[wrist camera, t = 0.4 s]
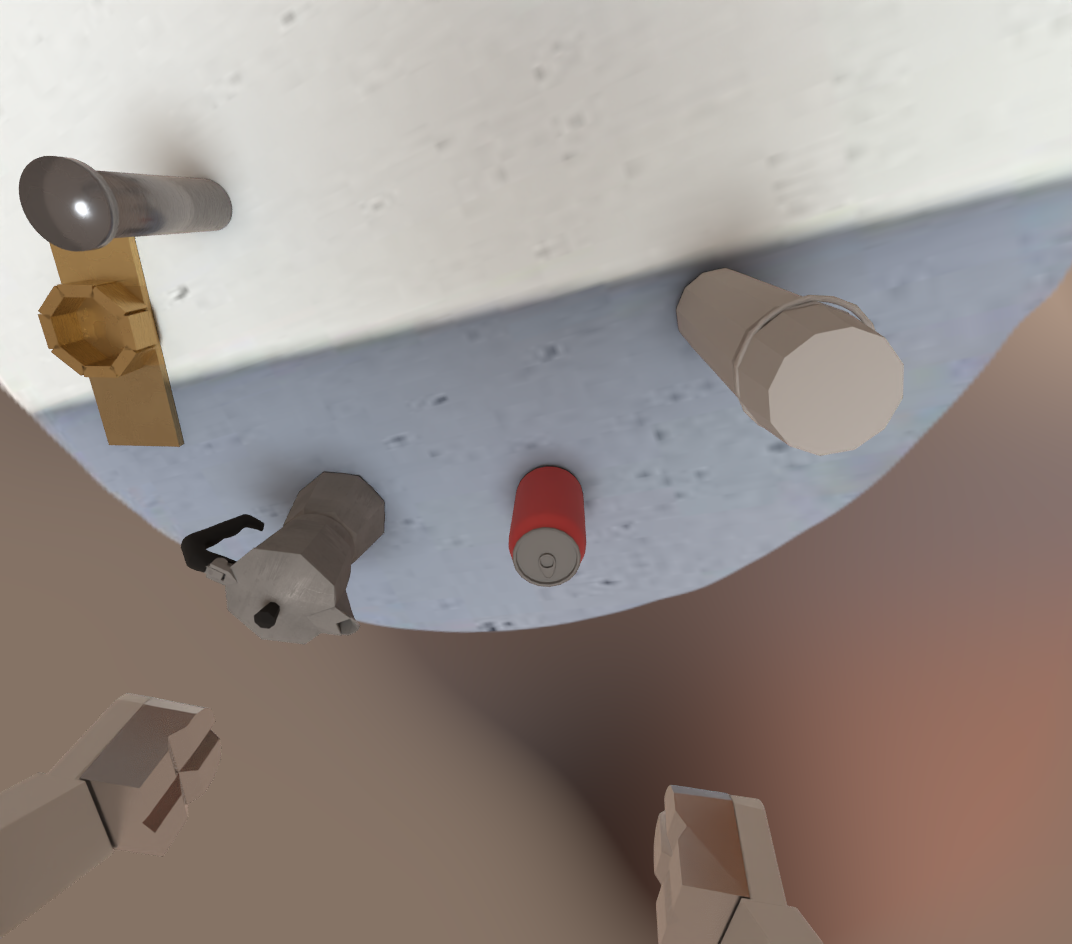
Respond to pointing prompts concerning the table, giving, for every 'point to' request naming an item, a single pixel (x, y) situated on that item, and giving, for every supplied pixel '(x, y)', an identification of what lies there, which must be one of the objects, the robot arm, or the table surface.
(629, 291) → the table surface
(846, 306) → the water bottle
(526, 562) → the beer can
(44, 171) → the pin
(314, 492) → the coffeepot
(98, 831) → the robot arm
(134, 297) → the octagonal peg holder board
